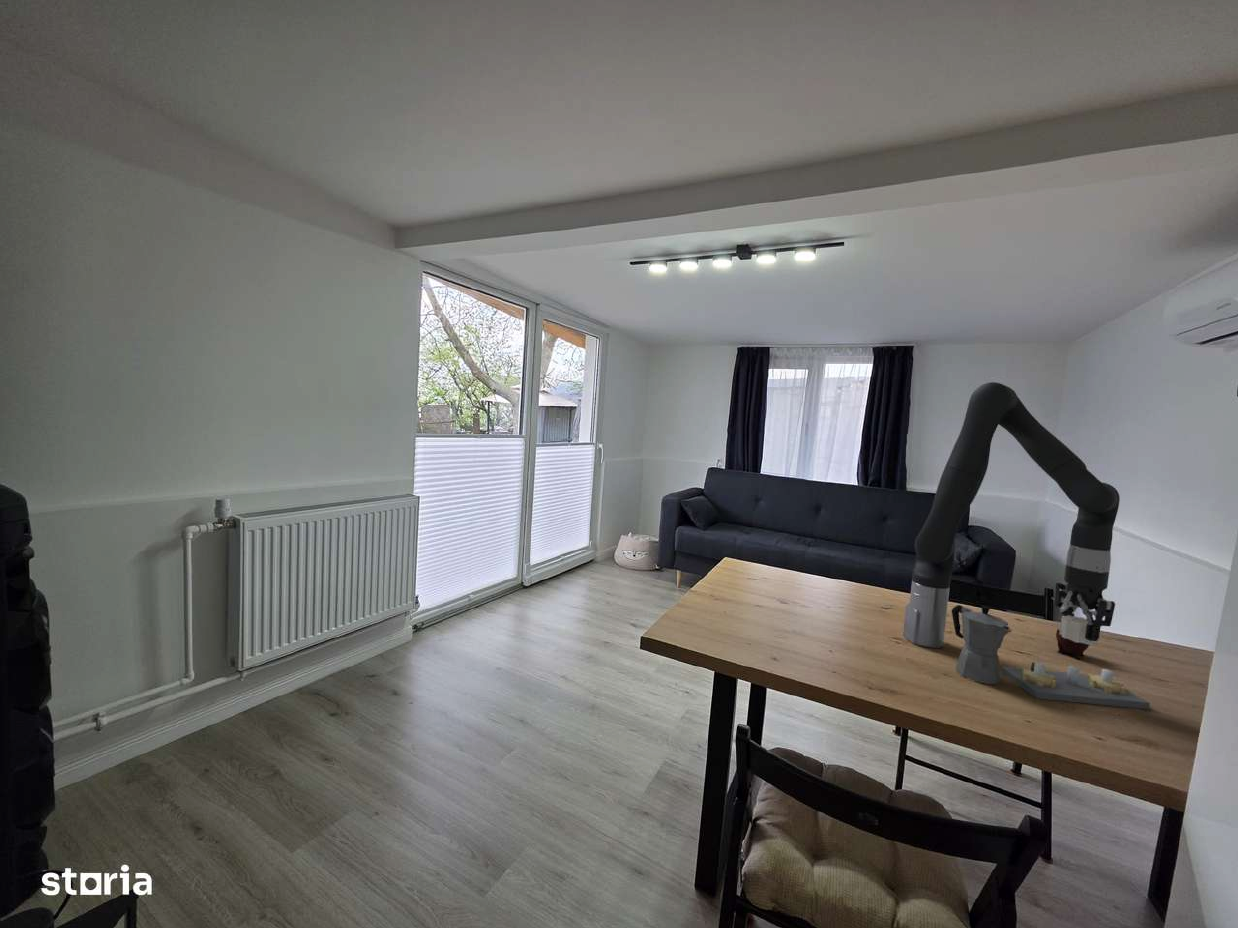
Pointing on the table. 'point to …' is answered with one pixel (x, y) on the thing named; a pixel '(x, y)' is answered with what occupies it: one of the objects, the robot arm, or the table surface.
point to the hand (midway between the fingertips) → (1078, 633)
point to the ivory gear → (1075, 629)
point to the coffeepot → (979, 644)
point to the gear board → (1074, 686)
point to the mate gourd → (1070, 645)
